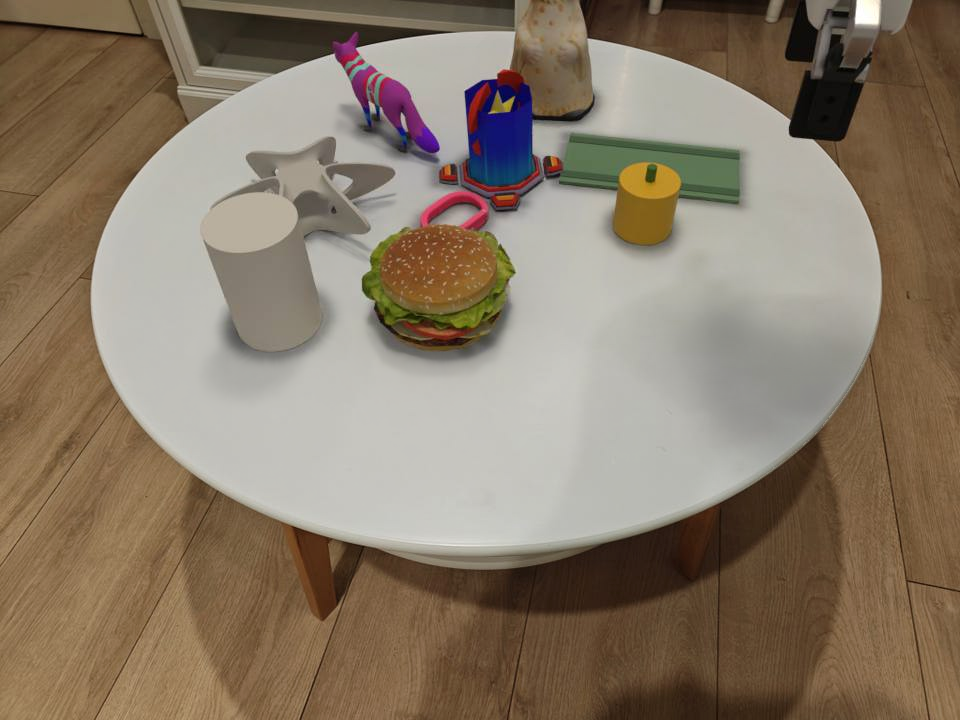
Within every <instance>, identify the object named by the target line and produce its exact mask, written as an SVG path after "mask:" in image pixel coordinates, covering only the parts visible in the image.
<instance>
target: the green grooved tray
mask: <svg viewBox="0 0 960 720" xmlns="http://www.w3.org/2000/svg"><path fill="white" fill-rule="evenodd" d="M568 140H569V141H568V144H567V147H566V152H565V156H564V159H563V162H562V164H563V169H564V172H562V173H559V179H558V184H562V185H571V186H581V187H588V188H589V187H590V188H597V189H606V190H616V191H617V190H618V183H619V177H620V174H621V172H622V171H623V170H624V169H625V168H627V167H628V166H630V165H633V164H637V163H657V164H661V165H664V166H667V167H669V168H670V169H672V170H674V171H675V172H676V173H677V174H678V176H679V177H680V180H681V187H680V191H679V196H678V198H686V199H693V200H703V201H712V202H721V203H728V204H740V196H741V195H740V193H741V192H740V191H741V189H740V159H741V158H740V156H741V154H740V153H741V152H740V150H739V149H731V148H723V147H722V148H721V147H714V146H713V147H712V146H702V145H693V144H684V143H683V144H682V143H674V142H663V141H656V140H655V141H652V140H644V139H634V138H627V137H626V138H624V137H623V138H622V137H615V136H607V135H598V134H597V135H596V134H585V133H577V132H571V134H570V136H569V139H568Z"/></svg>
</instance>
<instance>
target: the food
mask: <svg viewBox="0 0 960 720" xmlns="http://www.w3.org/2000/svg"><path fill="white" fill-rule="evenodd" d="M458 226H459V225H456V224H454V225H452V224H447V223H444V224H443V223H442V224H439V223H436V224H433V223H432V224H429V225H427V226H423V227H421V226H420V227H418V228H417V227H416V228H411V227H409V226H404V227H402V228H401V230H400V231H398V232H397V233H395V234H390V235H388V237H386V239H384V240H383V241H380V242H379V243H378V244H377V246H376V248H374V249H373V250H372V252H371V254H370V256H369V263H370V267H371V268H370V270H369V271H367V272H366V273H365V274H363V275H362V276H361V292H362V294H364V296H365V297H366V299H367V298H368V299H369V300H371V301H374V302H375V303H374V306H373V310H374V312H375V315H376V317H377V319H378V322H379V324H380V325H382V326H383V327H384V328H385V329H386V330H387V331H389V333H391V334H392V335H393V336H394V337H395V338H396V339H397V340H398V341H399V342H401V343H404V344H406V345H409V346H412V347H414V348H417V349H418V350H422V351H432V352H433V351H436V352H447V351H453V350H459V349H464V348H466V347H468V346H470V345H472V344H474V343H475V342H477V341H480V340H481V339H483V338H484V337H486V336H488V335H489V334H490V332H491V331H492V330H493V329H494V327H495V326H496V324H497V323H498V322H499V320H500V317H501V314H502V309H503V307H504V306H505V305H506V303H507V295H508V293H509V291H510V289H511V286H510V280H511V279H512V278H514V276H515V275H516V274H517V271H516V269H515V267H514V265H513V263H512V262H511V257H510V256H509V255H508V254H507V250H506V248H505V247H503V245H502V242H501V243H499V241H498V239H497V238H496V236H495V234H494V233H492V232H491V231H487V230H484V231H478V230H476V231H470V230H468V229H465V228H463V227H458Z"/></svg>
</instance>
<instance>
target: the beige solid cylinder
mask: <svg viewBox="0 0 960 720" xmlns="http://www.w3.org/2000/svg"><path fill="white" fill-rule="evenodd" d="M199 227H200V228H199V230H200V235H201V238H202V242H203V243H204V247H205V249H206V252H207V254H208V257H209V259H210V262H211V265H212V267H213V270H214V273H215V275H216V278H217V281H218V284H219V286H220V289H221V291H222V294H223V296H224V299H225V302H226V304H227V305H226V306H227V307H228V310H229V313H230V315H231V318H232V320H233V324H234V325H235V329H236V331H237V334H238V336H239V338H240V340H241V341H242V342H243V343H244V344H245V345H247V346H248V347H250V348H252V349H254V350H256V351H261V352H268V353H269V352H271V353H273V352H274V353H275V352H282V351H287V350H291V349H294V348H297V347H298V346H300V345H303V344H304V343H306V342H307V341H309V340H310V339H312V337H314V335H315V334H316V333H317V332H318V330H319V329H320V328H321V327H320V326H321V325H322V322H323V311H322V310H323V309H322V306H321V302H320V298H319V293H318V291H317V290H318V289H317V285H316V281H315V278H314V273H313V269H312V266H311V261H310V258H309V254H308V253H309V252H308V249H307V245H306V241H305V238H304V237H305V236H304V237H303V233H302V229H301V225H300V221H299V217H298V213H297V209H296V207H295V206H294V204H293V203H292V202H291V201H289V200H288V199H286V198H285V197H282V196H280V195H277V194H275V193H274V192H266V191H265V192H255V193H246V194H241V195H238V196H234V197H231V198H229V199H227V200H224V201H223V202H221V203H219V204H217V205H216V206H215V207H213V208H212V209H211V210H210V209H209V211H207V213H206V214H205V215H204V217H203V218H202V220H201V223H200V226H199Z"/></svg>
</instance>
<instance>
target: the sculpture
mask: <svg viewBox="0 0 960 720" xmlns="http://www.w3.org/2000/svg"><path fill="white" fill-rule="evenodd" d="M336 139H337V138H336V137H334V136H330V135H327V136H326V135H325V136H323V137H321V138H319V139H317V140H315V141H313V142H311V143H310V144H308V145H306V146H304V147H302V148H300V149H298V150H294V151H275V150H253V151H250V152H248V153H247V154H246V155H245V160H246V162H247V164H248V166H249V167H250V168H251V170H252V171H253V172H254V173H255V175H257V176H258V178H259V180H256V181H253V182H250V183H249V184H248V183H247V184H246V185H243V186H241V187H239V188H237V189H235V190H233V191H231V192H229V193H227V194H226V195H224V196H222V197H221V198H219V199H217V200H216V201H215V202H214V203H213V204H211V206H210V209H209V211H210V210H211V209H212V208H213V207H215V206H216V205H217V204H219V203H221V202H223V201H224V200H227V199H229V198H231V197H234V196H238V195H241V194H246V193H255V192H265V193H266V191H267V190H268V189H269V190H270V191H272V193H273V194H277V195H280V196H282V197H285V198H286V199H288V200H289V201H291V202H292V203H293V204H294V206H295V207H296V209H297V213H298V217H299V221H300V225H301V229H302V233H303V237H305V236H307V235H309V234H311V233H313V232H316V231H331V232H335V233H341V234H347V235H361V236H362V235H366V234H367V233H369V232H370V231H371V230H372V229H371V228H372V227H371V224H370V222H369V220H368V219H367V218H366V217H365V215H364V214H363V213H362V212H361V211H360V210H359V208H358V207H356V205H355V204H354V203H353V202H352V200H356V199H357V198H360V197H362V196H365V195H367V194H369V193H372V192H373V191H375V190H377V189H379V188H381V187H382V186H384V185H386V184H387V183H388V182H390V181H391V180H393V178H394V177H395V176H396V171H395V168H394V167H392V166H389V165H387V164H382V163H374V162H359V161H358V162H357V161H355V162H336V163H334V161H335V156H336V150H337V140H336ZM276 170H278V171H277V173H276ZM333 174H335V175H339V176H343V177H345V178H348V179H350V180H352V183H350V185H349V186H347V188H345V189H344V190H343V191H341V190H340V189H339V187H338V186H337V185H336V184H335V183H334V182H333V181H332V180H331V175H333ZM333 207H334V209H335V211H336V214H335V213H332V209H333Z"/></svg>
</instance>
